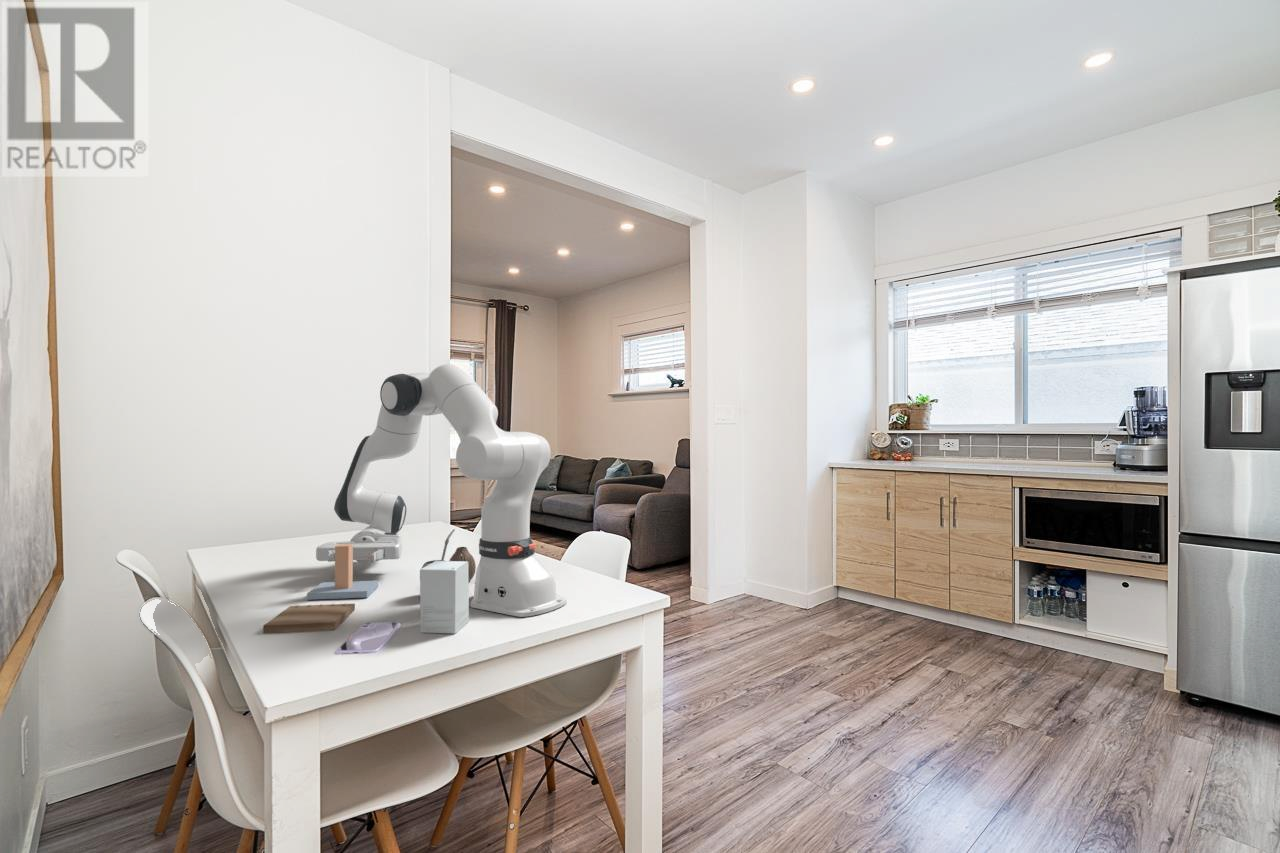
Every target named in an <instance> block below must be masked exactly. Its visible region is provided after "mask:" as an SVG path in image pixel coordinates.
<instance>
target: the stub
mask: <svg viewBox="0 0 1280 853" xmlns="http://www.w3.org/2000/svg"><path fill="white" fill-rule="evenodd" d="M353 561H354V560H353V544H338V545H337V546H335V561H334V581H327V582H326V581H325V582H321V583H320V584H318V585H317V586H315V587H313V588H312V589H310V591H308V592H307V593H306V600H307V601H309V600H310V601H311V600H313V601H315V600H335V599H336V600H338V599H341V600H342V599H360V598H368V597H369V596H370V595H371V594H372V593H373V592H375V591H376V590H377V588H378V587H379V580H361V581H360V580H359V581H357V580H356V581H354V579H353V577H354V574H353V573H354V570H353V569H354V567H353V566H354V564H353V563H354V562H353Z"/></svg>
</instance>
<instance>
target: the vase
mask: <svg viewBox="0 0 1280 853" xmlns="http://www.w3.org/2000/svg"><path fill="white" fill-rule="evenodd" d="M448 561H468V576H469V582H470V581H472V579H473V578H474V577H475V575H476V570H477V568H476V560H475V558H474V557H473V555H472V554H471V552H470V551H469V549H468V547H466V546H459V547H457V548H456V549H455V551H454V553H452V555H451V557H450V558H449V560H448Z"/></svg>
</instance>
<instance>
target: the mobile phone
mask: <svg viewBox="0 0 1280 853" xmlns="http://www.w3.org/2000/svg"><path fill="white" fill-rule="evenodd" d="M399 626H400V627H401V626H402V625H401V623H400V622H399V621H396V622H395V621H393V622H390V621H389V622H386V621H385V622H367V623H363V624H361V626H359V627H358V629H357V630H355V631H354V632H353V633H352V634H351V635H349V637H348V638H347V639H346V640H345V641H344V642H343V643H342V644H341V645H339V647H338V648H337V649H336V650H335V654H336V655H337V654H338V655H350V654H351V655H352V654H354V655H355V654H373V652H374V653H377V651H378V652H379V651H381V649H382V648H384V646H385V645H386V643H387V642H388V641H389V640H390V639H391V638H392V636H393V635H394V634H395V633H396V632H397V631H398V629H399V628H400V627H399ZM398 627H399V628H398ZM396 630H397V631H396ZM395 631H396V632H395ZM394 632H395V633H394ZM393 633H394V634H393Z"/></svg>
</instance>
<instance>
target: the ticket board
mask: <svg viewBox="0 0 1280 853" xmlns="http://www.w3.org/2000/svg"><path fill="white" fill-rule="evenodd" d="M355 606H356V604H355V603H339V604H338V603H337V604H336V603H332V604H322V603H321V604H308V605H304V604H303V605H299V604H298V605H297V604H296V605H290V606H289V607H287V608H286V609H284V610H283V611H281V612H280V613H279V614H277V615H276V616H274V617H272V619H270V620H269V621H268V622H266V623H264V624H263V625H262V626H263V628H262V630H263V631H262V632H263V634H270V633H271V634H273V633H276V634H277V633H291V632H293V633H294V632H317V631H319V632H320V631H335V630H336V629H337V628H339V627H340V625H341V624H342V623H343V622H344V621H346V619H348V618H349V617H350V616H351V615H352V614H351V613H352V612H353V611H354V610H355V609H356V607H355ZM355 611H356V610H355ZM355 611H354V612H355ZM354 612H353V613H354ZM350 614H351V615H350ZM349 615H350V616H349ZM348 616H349V617H348Z"/></svg>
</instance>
